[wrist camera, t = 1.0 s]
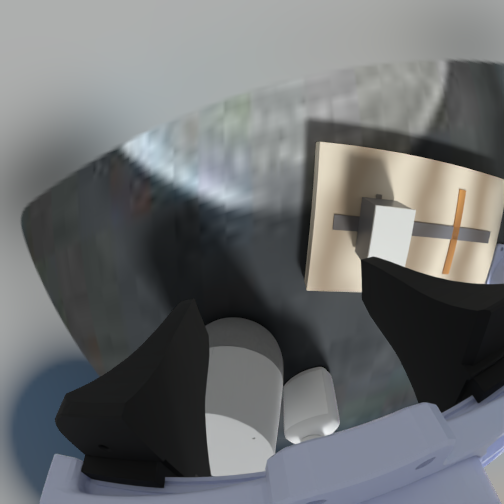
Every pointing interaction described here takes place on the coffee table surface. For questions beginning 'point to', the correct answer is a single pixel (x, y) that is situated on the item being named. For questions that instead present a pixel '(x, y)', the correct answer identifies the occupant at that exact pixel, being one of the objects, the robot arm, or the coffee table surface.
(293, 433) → the eye dropper bottle
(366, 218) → the fader tab
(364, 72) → the coffee table surface
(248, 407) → the smart speaker
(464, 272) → the console
